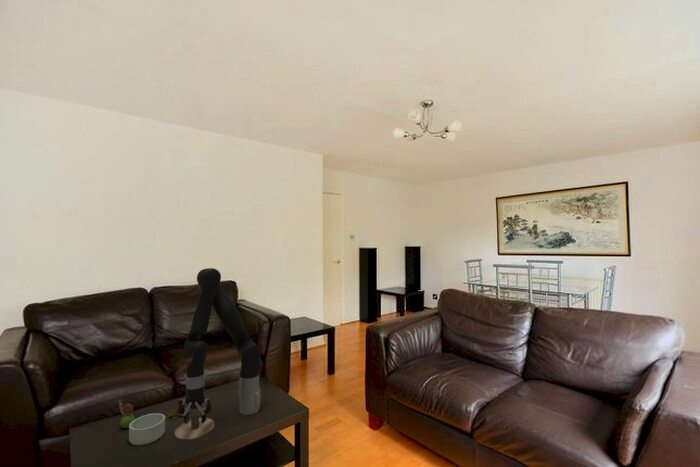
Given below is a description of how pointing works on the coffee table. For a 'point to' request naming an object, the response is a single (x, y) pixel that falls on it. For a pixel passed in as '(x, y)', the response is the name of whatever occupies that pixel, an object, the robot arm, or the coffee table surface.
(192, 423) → the lid
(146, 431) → the bowl
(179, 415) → the lily flower
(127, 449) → the coffee table surface
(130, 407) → the snail figurine
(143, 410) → the coffee table surface
